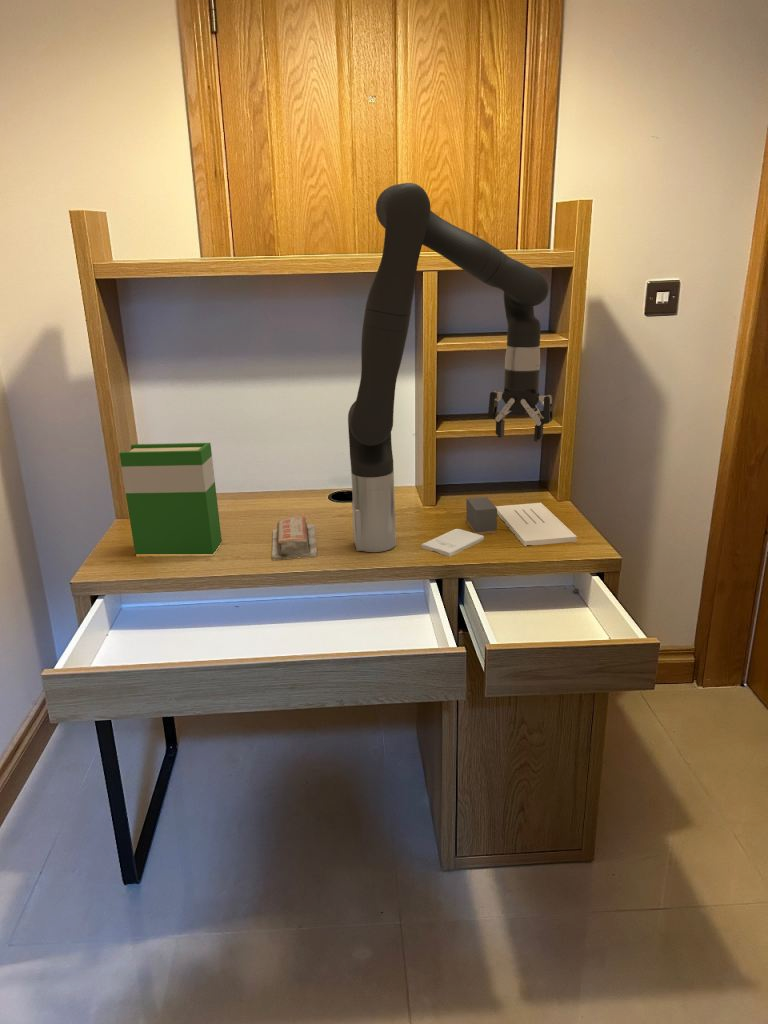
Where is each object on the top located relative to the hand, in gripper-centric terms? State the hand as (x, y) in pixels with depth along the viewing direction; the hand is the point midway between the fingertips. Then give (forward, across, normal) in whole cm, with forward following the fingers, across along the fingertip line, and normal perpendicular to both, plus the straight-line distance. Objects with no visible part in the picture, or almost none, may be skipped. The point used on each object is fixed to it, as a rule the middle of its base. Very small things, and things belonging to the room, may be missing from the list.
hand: (518, 439), depth 170 cm
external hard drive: (+22, -9, -15) cm, 29 cm away
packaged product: (+23, -42, -30) cm, 56 cm away
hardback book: (+23, -64, -44) cm, 81 cm away
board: (+21, +4, +3) cm, 22 cm away
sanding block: (+22, -7, -3) cm, 23 cm away
